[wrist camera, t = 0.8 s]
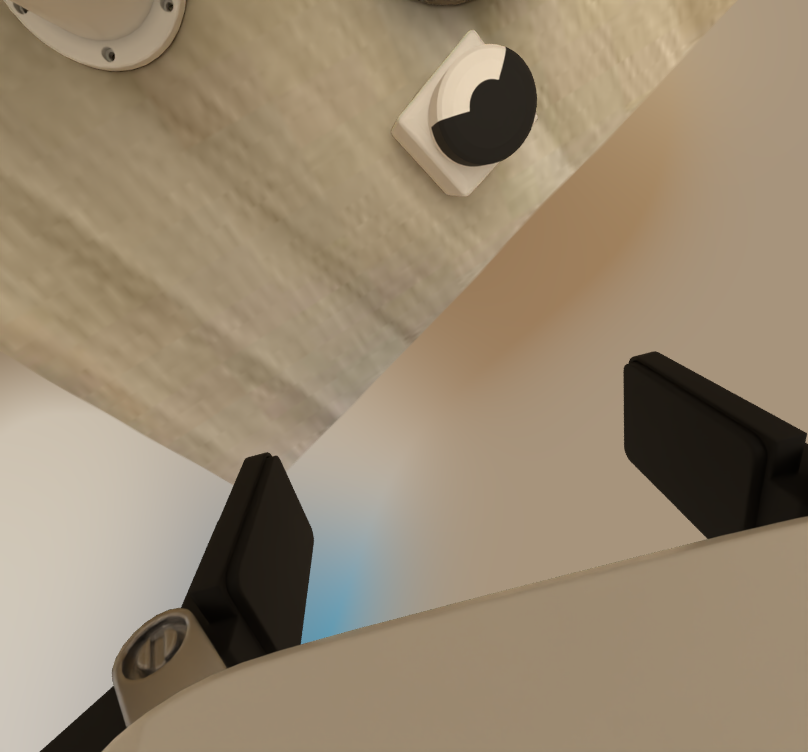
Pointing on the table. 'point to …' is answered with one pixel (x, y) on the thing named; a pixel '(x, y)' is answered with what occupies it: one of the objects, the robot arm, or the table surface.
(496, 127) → the medicine bottle
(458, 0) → the bucket
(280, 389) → the table surface
